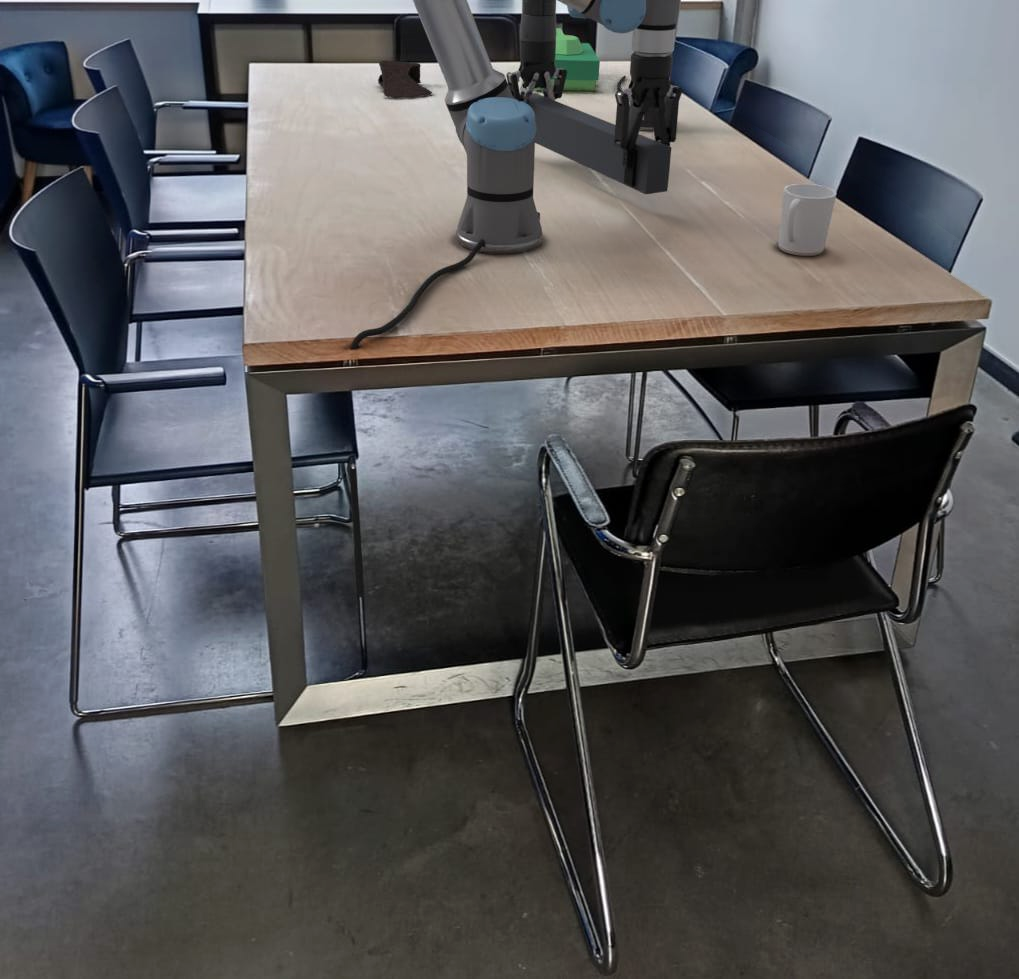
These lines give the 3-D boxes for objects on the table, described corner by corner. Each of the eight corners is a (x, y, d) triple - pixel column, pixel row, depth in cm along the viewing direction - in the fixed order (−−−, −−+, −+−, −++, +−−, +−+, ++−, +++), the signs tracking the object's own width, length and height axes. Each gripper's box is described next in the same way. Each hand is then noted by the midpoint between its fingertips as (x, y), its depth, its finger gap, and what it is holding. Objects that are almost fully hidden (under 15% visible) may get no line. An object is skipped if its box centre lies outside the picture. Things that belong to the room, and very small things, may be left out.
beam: (667, 191, 206) (671, 147, 201) (645, 194, 204) (649, 150, 199) (534, 131, 243) (535, 92, 239) (514, 133, 241) (515, 94, 237)
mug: (789, 236, 200) (798, 180, 195) (834, 247, 195) (845, 190, 190) (760, 251, 193) (769, 193, 188) (807, 263, 188) (817, 204, 183)
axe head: (443, 87, 294) (392, 77, 287) (436, 115, 299) (385, 106, 292) (421, 62, 307) (371, 52, 300) (414, 89, 311) (365, 80, 304)
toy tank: (587, 25, 326) (600, 46, 296) (584, 68, 332) (597, 93, 303) (528, 24, 325) (535, 44, 295) (526, 67, 331) (534, 92, 302)
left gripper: (680, 46, 202) (668, 172, 215) (598, 53, 195) (591, 183, 207) (705, 52, 197) (692, 181, 209) (621, 60, 189) (613, 194, 201)
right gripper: (558, 31, 234) (555, 114, 243) (499, 36, 228) (498, 120, 237) (576, 37, 228) (573, 121, 237) (516, 42, 222) (515, 127, 231)
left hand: (641, 182), depth 208 cm, fingers closed on beam, 5 cm apart
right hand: (535, 120), depth 237 cm, fingers closed on beam, 5 cm apart
